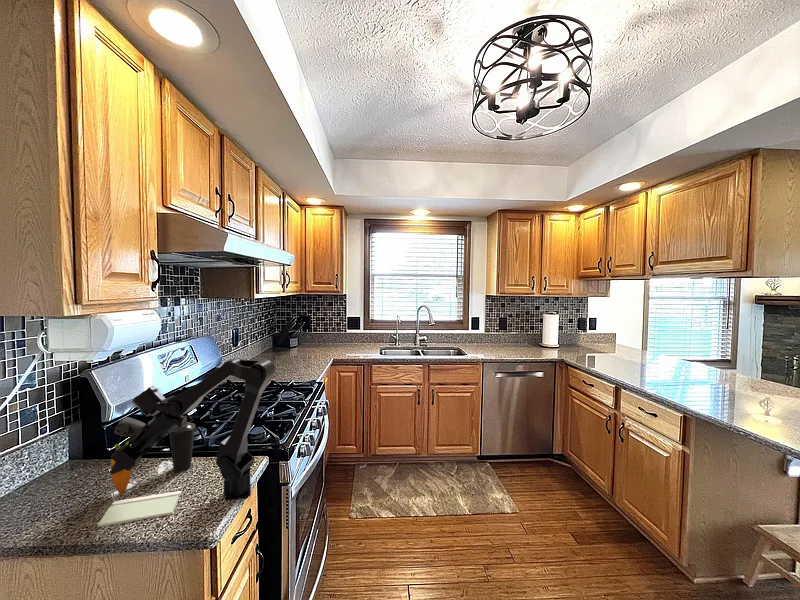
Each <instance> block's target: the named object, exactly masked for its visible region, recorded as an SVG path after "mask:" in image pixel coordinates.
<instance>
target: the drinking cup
mask: <svg viewBox="0 0 800 600" xmlns="http://www.w3.org/2000/svg"><path fill="white" fill-rule="evenodd" d="M182 416H184V414H183V415H182ZM195 428H196V424H195V423H193V422H189V421H187V425H185V426H183V427H181V428H179V427H178V426H177V425H175V426H174V427H173V428H172V429H171V430H170V431H169V432H168V435H169V442H170V451H171V459H172V466H173V467H172V468H173V471H174V472H175V473H183V472H187V471H188V470H190V469H191V468H192V458H193V450H194V449H193V445H194V437H195V436H194V435H195Z"/></svg>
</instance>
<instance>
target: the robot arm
mask: <svg viewBox="0 0 800 600" xmlns="http://www.w3.org/2000/svg"><path fill="white" fill-rule="evenodd" d="M276 369H277V368H276V366H275V364H274V363H273V362H272V361H271V360H270V359H261V360H256V359H255V360H254V359H242V358H241V359H240V358H232V359H229V360H227V361H225V362H224V363H223V364H222V365H221V366H219V367H218V368H216V369H215V370H214V371H212V372H211V373H210V374H208V376H206V377H205V378H203V379H202V380H201V381H199V382H198V383H196V384H195V385H194V386H192V387H191V388H188V389H187V390H185V391H182V392H180V393H178V394H177V395H171V396H169V397H167V398H166V397H165V396H164V395H163V394H162V393H161V392H160V391H159V389H158V388H157V387H156V386H155V385H152V386H149V387H148V388H146V390H143V391H142V392H141V393H140V394H137V395H136V396H135V397H134V398H133V399H132V401H131V402H132V403H133V405H134V406H135V407H136V408H137V409H138V410H139V411H140V412H141V413H142V414H144V415H145V417H149V416H151V417H153V418H152V419H151V420H149V421H148V422H147V423H144V422H143V421H141V420H138V419H135V418H133V417H129V416H128V417H127V416H126V417H124V418H122V419H121V420H119V422H118V424H117V426H115V427H114V434H116V435H118V436H121V437H127V438H129V439H128V441H129V443H131V444H130V445H129V444H128V445H125V444H124V445H120V446H121V447H120V448H119V449H118V450H115V451H114V452H113V453H112V454H111V455H110V459H111V460H112V459H113V460H114V461H115V464H114V465H113V467H112V468H111V467H110V470H109V471H108V472H109V474H115V473H117V472H119V471H122V470H124V469H126V470H127V471H130V470H131V469H134V467H136V466H137V465H138V464H139V462H141V460H142V456H144V455H146V454H148V453H149V452H150V451H152V449H153V448H154V447H156V445H158V444H159V443H160V442H161V441H162V440H163V438H164V437H165V436H166V435H167V434H169V431H170V430H171V429H172V428H173V427H174V426H175V425H177V426H178V427H179V428H181V427H183V426H185V425H187V422H188V421H187V418H188V416H187V415H185V414H187V413H189V412H191V411H192V410H194V409H195V408H196V407H198V406H199V404H200V403H201V402H202V401H203V399H204V398H205V397H206V395H207V394H209V393H210V392H212V391H213V390H214V389H216V388H217V387H218V386H219V385H221V384H223V383H224V382H225V381H227V380H228V379H229V378H231V377H235V378H237V379H239V380H244V386H245V387H244V389H245V392H244V395H243V397H242V401H241V405H240V406H239V410H238V413H237V416H236V417H235V421H234V424H233V427H232V430H231V433H230V434H229V435H228V436H227V437H226V438H225V439H223V440H222V441H221V442H220V443H219V445H218V448H217V452H216V454H214V457H215V458H216V459H215V464H216V465H217V468H218V469H219V471H220V474H221V477H222V479H223V496H225V498H224V500H225V501H232V500H237V499H243V498H249V497H250V496H251V494H252V493H251V492H252V483H251V467H252V466H253V465H254V463H255V457H254V456H253V455H252V454H251V453H250V452H249V451H248V448H249V447H248V446H249V443H248V441H249V440H248V435H249V432H250V429H251V427H252V424H253V421H254V419H255V415H256V413H257V409H258V408H259V404H260V400H261V398H262V395H263V393H264V391H265V390H266V388H267V387H268V385H269V384H270V383H271V381H272V379H273V377H274V376H275V374H276V371H277V370H276ZM182 415H183V416H182ZM184 415H185V416H184ZM131 471H132V470H131Z"/></svg>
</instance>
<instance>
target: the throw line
mask: <svg viewBox="0 0 800 600" xmlns="http://www.w3.org/2000/svg"><path fill="white" fill-rule="evenodd" d="M181 494H182V490H178V491H172V492H171V491H170V492H165V493H158V494H152V495H146V496H145V495H144V496H140V497H133V498H127V499H121V500H114V501H113V502H112V504H111V506H116V505H122V504H128V503H134V502H140V501H147V500H153V499H159V498H165V497H171V496H178V495H179V496H180V495H181Z"/></svg>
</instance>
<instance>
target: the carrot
mask: <svg viewBox="0 0 800 600" xmlns="http://www.w3.org/2000/svg"><path fill="white" fill-rule="evenodd" d="M129 443H130V441H129V440H128V441H127V440H126V442H125V444H124V445H129ZM121 446H122V445H120V444H119V443H117V444H114V448H115V449H116V450H118V449H119V448H120V447H121ZM116 450H115V451H116ZM114 464H115V461H114V460H113V459H111V461H110V469H111V468H112V467H113V465H114ZM132 469H133V468H132ZM132 469H131V470H130V471H127V470H126V469H124V470H122V471H119V472H117V473H115V474H111V473H110V474H111V480H112V483H113V486H114V488H115V490H116V492H118V494H120V495H123V494H124V493H125V492H126V489H127V488H128V485H129V482H130V480H131V474H132Z"/></svg>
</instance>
